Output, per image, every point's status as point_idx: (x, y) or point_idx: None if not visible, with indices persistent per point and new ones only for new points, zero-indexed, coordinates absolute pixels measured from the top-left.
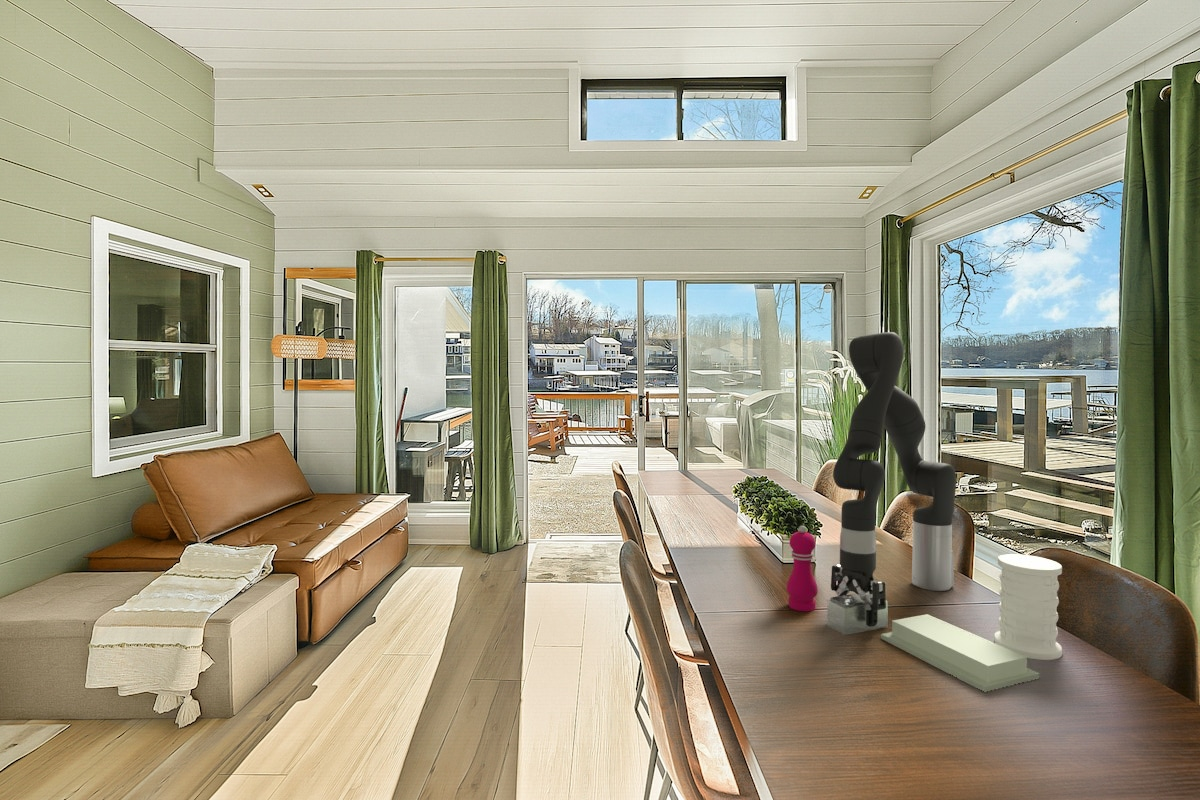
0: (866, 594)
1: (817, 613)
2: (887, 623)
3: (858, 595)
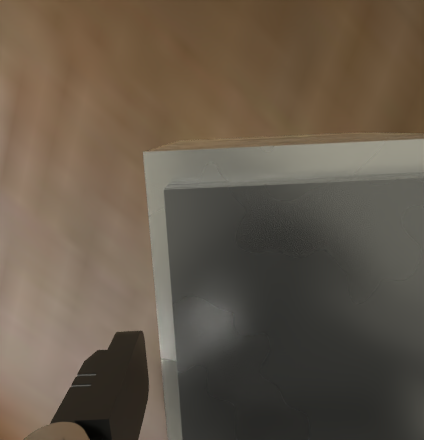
0: (261, 315)
1: (15, 416)
2: (371, 132)
3: (255, 437)
